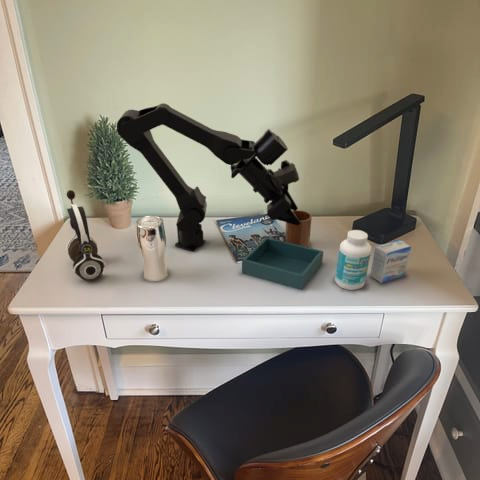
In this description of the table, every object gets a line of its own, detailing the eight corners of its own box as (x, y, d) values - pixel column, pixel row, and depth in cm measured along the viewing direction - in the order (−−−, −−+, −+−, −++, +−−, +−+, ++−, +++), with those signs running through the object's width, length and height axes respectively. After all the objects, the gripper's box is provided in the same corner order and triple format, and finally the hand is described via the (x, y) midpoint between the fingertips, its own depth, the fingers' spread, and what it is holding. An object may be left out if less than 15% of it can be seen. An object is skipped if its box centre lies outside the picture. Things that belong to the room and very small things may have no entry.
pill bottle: (339, 292, 120) (347, 243, 112) (330, 276, 126) (337, 228, 118) (369, 289, 121) (378, 240, 113) (358, 274, 127) (367, 226, 119)
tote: (241, 273, 127) (241, 260, 125) (265, 250, 137) (266, 237, 135) (301, 290, 121) (302, 276, 119) (322, 264, 131) (323, 250, 129)
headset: (68, 257, 134) (51, 186, 122) (97, 252, 137) (83, 182, 125) (78, 289, 122) (61, 214, 110) (110, 282, 124) (96, 208, 112)
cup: (284, 250, 137) (286, 220, 132) (284, 239, 142) (286, 210, 137) (309, 251, 137) (312, 221, 131) (308, 239, 142) (311, 210, 137)
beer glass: (173, 270, 129) (168, 217, 120) (161, 284, 123) (155, 229, 114) (149, 266, 130) (143, 213, 121) (137, 279, 125) (128, 225, 116)
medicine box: (380, 284, 123) (386, 253, 118) (369, 275, 126) (374, 245, 121) (405, 276, 126) (412, 246, 121) (393, 268, 129) (399, 238, 124)
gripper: (283, 168, 117) (325, 212, 123) (279, 143, 132) (317, 183, 138) (249, 199, 122) (291, 240, 128) (249, 171, 137) (287, 209, 143)
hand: (297, 216), depth 134 cm, fingers open, 9 cm apart
